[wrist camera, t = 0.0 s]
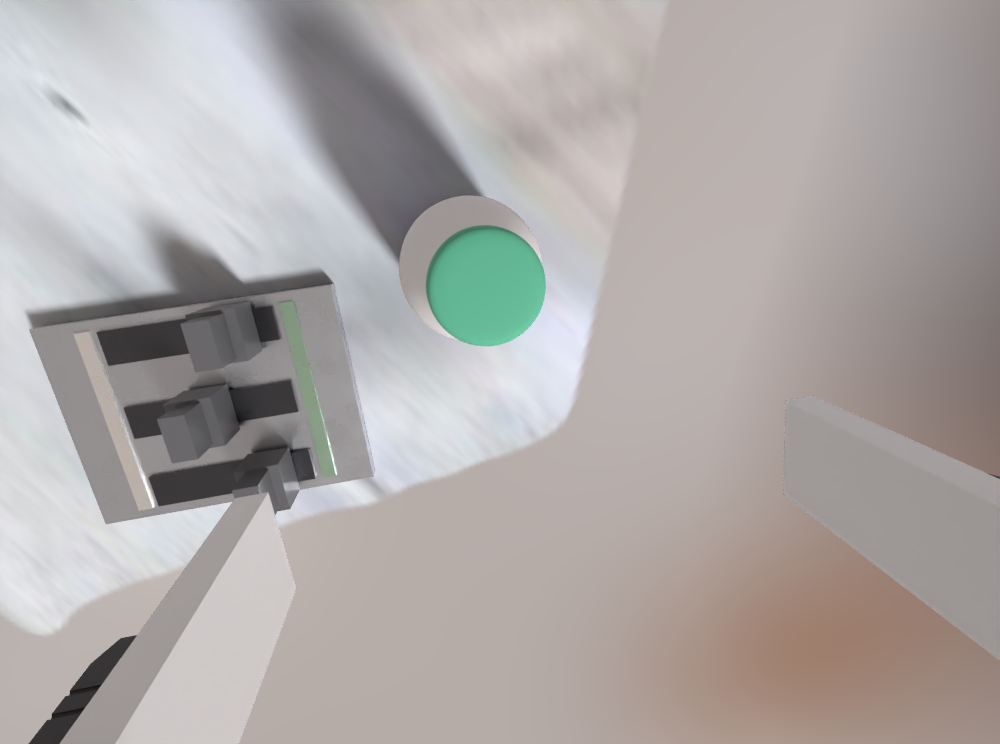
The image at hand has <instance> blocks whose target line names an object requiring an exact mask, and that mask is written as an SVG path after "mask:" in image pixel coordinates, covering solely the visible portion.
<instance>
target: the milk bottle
mask: <svg viewBox="0 0 1000 744" xmlns="http://www.w3.org/2000/svg"><path fill="white" fill-rule="evenodd" d="M399 274H400V281H401V286H402V289H403V292H404V295H405V297H406V299H407V301H408V303H409V305H410V306H411V308H412V309H413V311H414V312H415V313H416V314H417V316H418V317H419V318H420V319H421V320H422V321H423V322H424V323H425V324H426V325H428V326H429V327H430V328H432V329H433V330H435V331H437V332H438V333H440V334H442V335H445V336H447V337H450V338H453V339H458V340H460V341H462V342H465V343H468V344H471V345H476V346H495V345H500V344H503V343H506V342H509V341H511V340H513V339H515V338H516V337H518V336H520V335H521V334H522V333H523V332H525V331H526V330H527V329H528V328H529V327H530V326H531V324H532V323H533V322H534V321H535V319H536V317H537V316H538V314H539V312H540V310H541V307H542V305H543V301H544V296H545V288H546V287H545V275H544V270H543V267H542V261H541V255H540V250H539V247H538V244H537V241H536V239H535V237H534V235H533V233H532V231H531V230H530V228H529V227H528V225H527V224H526V223H525V222H524V221H523V219H522V218H521V217H520V216H519V215H518V214H517V213H515V212H514V211H513V210H512V209H510V208H509V207H507V206H506V205H504V204H502V203H500V202H498V201H495V200H493V199H490V198H486V197H481V196H458V197H453V198H449V199H446V200H443V201H440V202H438V203H436V204H434V205H433V206H431V207H430V208H428V209H427V210H426V211H424V212H423V213H422V214H421V215H420V216H419V217H418V218H417V219H416V220H415V222H414V223H413V224H412V226H411V227H410V229H409V231H408V233H407V234H406V237H405V239H404V242H403V245H402V249H401V253H400V260H399Z"/></svg>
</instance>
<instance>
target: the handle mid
mask: <svg viewBox="0 0 1000 744" xmlns="http://www.w3.org/2000/svg"><path fill="white" fill-rule="evenodd" d="M163 407H164V410H165V414H164V415H163V416H161V417H160V418H158V419H157V421H158V424H159V427H160V430H161V433H162V436H163V439H164V442H165V445H166V448H167V451H168V454H169V456H170V459H171V462H172V464H173V463H179V462H185V461H191V460H197V459H199V458H200V457H201V456H202V455H203V454H204V453H205V452H206V451H207V450H208V449H209V448H215V447H220V446H225V445H226V444H227V443H228V442H229V441H230V440H231V439H232V438H233V437H234V436H235V434H236V433H237V432H238V431H239V430H240V427H239V423H238V420H237V416H236V413H235V410H234V406H233V403H232V400H231V396H230V393H229V389H228V386H227V384H224V385H218V386H212V387H206V388H199V389H193V390H187V391H183V392H181V393H180V394H178V395H177V396H175V397H174V398H172V399H171V400H169V401H168V402H166V403H165V404H163Z"/></svg>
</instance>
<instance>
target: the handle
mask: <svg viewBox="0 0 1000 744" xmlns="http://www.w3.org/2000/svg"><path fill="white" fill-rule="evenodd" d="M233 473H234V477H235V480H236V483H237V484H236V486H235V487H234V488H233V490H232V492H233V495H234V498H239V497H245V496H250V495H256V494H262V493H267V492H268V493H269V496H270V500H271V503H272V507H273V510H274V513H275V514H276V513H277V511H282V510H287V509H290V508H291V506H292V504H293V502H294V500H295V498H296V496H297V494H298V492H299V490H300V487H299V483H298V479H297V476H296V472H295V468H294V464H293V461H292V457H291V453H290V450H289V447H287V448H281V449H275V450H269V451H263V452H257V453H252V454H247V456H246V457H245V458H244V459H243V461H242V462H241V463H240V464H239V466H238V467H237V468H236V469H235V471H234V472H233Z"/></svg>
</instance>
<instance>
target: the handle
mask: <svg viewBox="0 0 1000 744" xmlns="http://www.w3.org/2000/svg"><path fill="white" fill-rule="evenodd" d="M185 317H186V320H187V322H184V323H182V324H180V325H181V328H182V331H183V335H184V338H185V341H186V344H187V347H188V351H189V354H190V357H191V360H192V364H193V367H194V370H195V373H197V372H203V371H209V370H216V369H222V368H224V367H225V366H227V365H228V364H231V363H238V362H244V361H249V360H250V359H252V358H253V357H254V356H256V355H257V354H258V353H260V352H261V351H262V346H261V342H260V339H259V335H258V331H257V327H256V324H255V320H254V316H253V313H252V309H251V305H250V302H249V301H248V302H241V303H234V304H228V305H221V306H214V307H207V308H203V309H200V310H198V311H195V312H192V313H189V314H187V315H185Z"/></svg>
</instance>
